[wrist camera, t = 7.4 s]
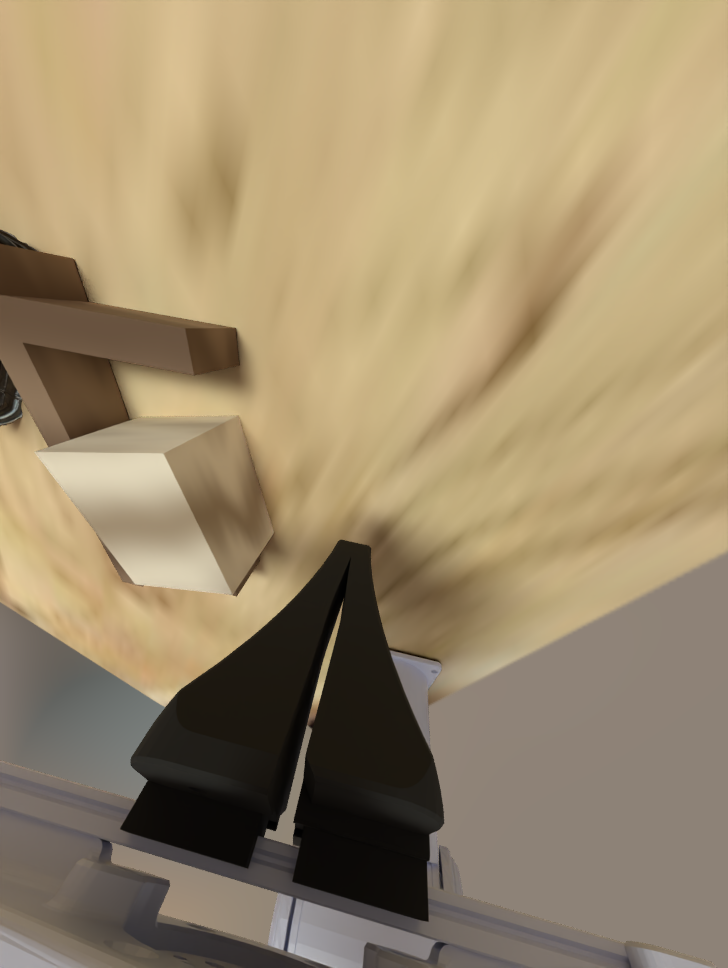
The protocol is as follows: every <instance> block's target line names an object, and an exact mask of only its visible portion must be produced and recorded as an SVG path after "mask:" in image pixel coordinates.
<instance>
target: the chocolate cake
mask: <svg viewBox="0 0 728 968" xmlns="http://www.w3.org/2000/svg"><path fill="white" fill-rule="evenodd" d="M0 244H3V245H8V246H13V247H18V248H23V249H28V250H33V251H37V250H35V249H34V248H32V247H30V246H28V245H27V243H22V242H20V241H19V240H17V238H16V237H15V236H14V235H12V234H10V233H8V232H5V231H3V230H0ZM38 252H39V251H38ZM21 403H22V398H21V396H20V394H19V393H18V391H17V389H16V387H15V385H14V384H13V382H12V380H11V378H10V376H9V374H8V373H7V371H6V369H5V367H4V365H3V364H2V362H1V360H0V426H1V425H7V424H11V423H13V421H14V420H18V418H22V416H23V415H22V410H21Z"/></svg>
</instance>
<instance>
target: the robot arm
mask: <svg viewBox="0 0 728 968" xmlns="http://www.w3.org/2000/svg"><path fill="white" fill-rule="evenodd" d="M343 599H344V601H343ZM342 602H343V607H342V614H341V621H340V625H339V629H338V633H337V637H336V641H335V645H334V649H333V652H332V656H331V660H330V664H329V668H328V672H327V676H326V680H325V683H324V687H323V691H322V695H321V699H320V703H319V706H318V710H317V714H316V718H315V721H314V725H313V729H312V733H311V737H310V740H309V744H308V748H307V752H306V757H305V768H304V779H303V784H302V788H301V792H300V796H299V800H298V804H297V809H296V813H295V817H294V823H295V830H294V834H293V846H291V845H288V844H284V843H281V842H277V841H274V840H271V839H267V838H264V835H265V832H266V828H267V829H270V830H273V831H276V829H277V825H278V821H279V818H280V815H281V814H282V813H283V812H284V811H285V810H286V808H287V803H288V799H289V795H290V791H291V787H292V783H293V779H294V774H295V771H296V766H297V762H298V758H299V754H300V750H301V746H302V742H303V738H304V734H305V730H306V726H307V722H308V718H309V714H310V710H311V706H312V702H313V698H314V694H315V690H316V686H317V682H318V678H319V674H320V670H321V666H322V662H323V659H324V656H325V652H326V649H327V646H328V643H329V640H330V638H331V635H332V632H333V629H334V626H335V623H336V620H337V617H338V614H339V611H340V608H341V605H342ZM441 670H442V666H441V664H440V663H439V662H436V661H432V660H428V659H424V658H420V657H416V656H412V655H407V654H403V653H399V652H395V651H391V650H389V647H388V644H387V640H386V637H385V634H384V630H383V627H382V623H381V619H380V615H379V611H378V606H377V602H376V597H375V591H374V585H373V579H372V570H371V548H370V546H367V545H363V544H358V543H354V542H349V541H345V540H339V541H338V543H337V544H336V546H335V548H334V549H333V551H332V553H331V554H330V555H329V557H328V558H327V560H326V561H325V562H324V564H323V565H322V566H321V568H320V569H319V570H318V571H317V573H316V574H315V575H314V576H313V578H312V579H311V580H310V581H309V582H308V583H307V584H306V585H305V587H304V588H303V589H302V590H301V591H300V592H299V593H298V594H297V595H296V596H295V598H294V599H293V600H292V601H291V602H290V603H289V604H288V605H287V606H286V607H285V608H284V609H282V610H281V611H280V612H279V613H278V614H277V615H276V616H275V617H274V618H273V619H272V620H271V621H269V622H268V623H267V624H266V625H265V626H264V627H263V628H262V629H261V630H259V631H258V632H257V633H256V634H255V635H253V636H252V637H251V638H250V639H249V640H247V641H246V642H245V643H243V644H242V645H241V646H240V647H238V648H237V649H236V650H235V651H233V652H232V653H231V654H229V655H228V656H227V657H226V658H224V659H223V660H222V661H220V662H219V663H218V664H216V665H215V666H213V667H212V668H210V669H209V670H208V671H206V672H205V673H203V674H202V675H201V676H199V677H198V678H196V679H195V680H193V681H192V682H191V683H189V684H188V685H186V686H185V687H183V688H182V689H181V690H180V691H179V692H178V693H177V694H176V695H175V696H174V698H173V699H172V700H171V701H170V702H169V704H168V705H167V706H166V707H165V709H164V710H163V711H162V713H161V714H160V715H159V717H158V718H157V719H156V721H155V722H154V723H153V725H152V726H151V728H150V729H149V731H148V732H147V734H146V736H145V737H144V739H143V740H142V742H141V743H140V745H139V746H138V748H137V750H136V751H135V753H134V754H133V756H132V757H131V766H132V767H133V768H134V769H135V770H136V771H137V772H138V773H140V774H141V775H142V776H143V777H145V778H146V779H147V780H148V781H147V783H146V785H145V786H144V788H143V790H142V792H141V793H140V795H139V797H138V799H137V800H134V799H130V798H127V797H124V796H120V795H116V794H113V793H110V792H107V791H103V790H100V789H96V788H93V787H89V786H86V785H83V784H79V783H75V782H72V781H69V780H65V779H62V778H59V777H55V776H52V775H48V774H44V773H42V772H38V771H35V770H31V769H28V768H24V767H20V766H17V765H14V764H11V763H7V762H3V761H0V968H717V967H716V966H715V965H714V964H713V963H712V962H710V961H706V960H703V959H700V958H697V957H693V956H690V955H686V954H683V953H679V952H676V951H673V950H669V949H666V948H662V947H658V946H654V945H650V944H646V943H639V942H633V941H626V943H623V942H620V941H616V940H613V939H609V938H606V937H603V936H599V935H596V934H592V933H589V932H586V931H582V930H578V929H575V928H572V927H568V926H565V925H562V924H558V923H555V922H551V921H548V920H544V919H541V918H537V917H534V916H531V915H527V914H524V913H521V912H517V911H514V910H510V909H507V908H503V907H500V906H496V905H493V904H490V903H486V902H483V901H479V900H476V899H473V898H469V897H466V896H463V892H462V885H461V878H460V873H459V869H458V866H457V864H456V863H455V861H454V859H453V858H452V857H451V855H450V851H449V849H448V848H447V847H444V846H439V864H438V845H437V831H438V830H439V829H440V828H441V827H442V826H443V824H444V811H443V804H442V797H441V790H440V785H439V780H438V775H437V771H436V767H435V763H434V759H433V755H432V753H431V751H430V731H429V711H428V690H429V688H430V687H431V685H432V684H433V682H434V681H435V679H436V678H437V676H438V675H439V673H440V672H441ZM110 842H113V843H116V844H119V845H123V846H126V847H129V848H132V849H136V850H139V851H142V852H146V853H149V854H152V855H155V856H159V857H162V858H165V859H169V860H172V861H175V862H179V863H182V864H185V865H188V866H192V867H195V868H198V869H202V870H205V871H208V872H212V873H215V874H218V875H221V876H225V877H228V878H231V879H235V880H238V881H241V882H245V883H248V884H251V885H254V886H258V887H261V888H264V889H267V890H271V891H274V892H277V893H278V896H277V900H276V905H275V909H274V914H273V918H272V924H271V930H270V935H269V941H268V945H266V944H262V943H259V942H256V941H253V940H250V939H246V938H243V937H239V936H236V935H233V934H229V933H226V932H223V931H218V930H215V929H212V928H208V927H204V926H201V925H197V924H194V923H190V922H186V921H182V920H179V919H176V918H172V917H168V916H164V915H161V914H158V912H159V910H160V908H161V905H162V903H163V901H164V898H165V896H166V894H167V892H168V889H169V887H170V883H169V880H166V879H164V878H161V877H158V876H155V875H152V874H149V873H146V872H143V871H140V870H136V869H133V868H129V867H125V866H120V865H116V864H113V863H112V862H111V855H112V850H113V849H112V844H111V843H110ZM438 865H439V866H438Z"/></svg>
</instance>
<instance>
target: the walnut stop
mask: <svg viewBox="0 0 728 968" xmlns="http://www.w3.org/2000/svg"><path fill="white" fill-rule="evenodd" d="M108 359H112V360H117V361H122V362H127V363H133V364H138V365H143V366H148V367H154V368H159V369H164V370H169V371H175V372H180V373H185V374H190V375H197V374H202V373H206V372H211V371H215V370H220V369H224V368H229V367H234V366H238V365H239V356H238V347H237V337H236V328H232V327H226V326H221V325H215V324H210V323H204V322H198V321H193V320H187V319H182V318H176V317H170V316H165V315H159V314H154V313H148V312H143V311H137V310H131V309H126V308H120V307H115V306H109V305H103V304H98V303H92V302H88V300H87V297H86V294H85V292H84V289H83V286H82V283H81V280H80V277H79V274H78V271H77V269H76V266H75V263H74V260H73V259H72V258H67V257H62V256H58V255H53V254H48V253H43V252H38V251H33V250H28V249H23V248H18V247H13V246H8V245H3V244H0V360H1V362H2V364H3V365H4V367H5V369H6V371H7V373H8V374H9V376H10V378H11V380H12V382H13V384H14V385H15V387H16V389H17V391H18V393H19V394H20V396H21V398H22V400H23V402H24V403H25V405H26V407H27V409H28V411H29V413H30V414H31V416H32V418H33V420H34V422H35V423H36V425H37V427H38V429H39V431H40V433H41V434H42V436H43V438H44V440H45V442H46V443H47V445H48V447H51V446H54V445H57V444H60V443H63V442H66V441H69V440H72V439H75V438H78V437H81V436H84V435H87V434H90V433H93V432H96V431H99V430H102V429H105V428H108V427H111V426H114V425H117V424H120V423H123V422H126V421H129V418H128V415H127V412H126V409H125V406H124V403H123V401H122V398H121V395H120V392H119V389H118V386H117V383H116V380H115V378H114V375H113V372H112V369H111V366H110V363H109V360H108ZM97 536H98V535H97ZM98 538H99V540H100V541H101V543H102V545H103V547H104V549H105V550H106V552H107V554H108V556H109V558H110V560H111V561H112V563H113V565H114V567H115V569H116V570H117V572H118V574H119V576H120V578H121V580H122V581H123V582H126V583H130V584H134V585H137V584H135V583H134V582H133V581H132V579H131V578H130V577H129V576H128V574H127V573H126V572H125V570H124V569H123V568H122V566H121V565H120V564H119V562H118V561H117V560H116V558H115V557H114V556H113V555H112V553H111V552H110V551H109V549H108V548H107V547H106V545H105V544H104V543H103V541H102V540H101V539H100V537H99V536H98ZM259 561H260V560H259V556H258V558H257V559H256V561H255V562H254V564H253V565H252V567H251V568H250V570H249V571H248V573H247V574H246V576H245V577H244V579H243V580H242V582H241V583H240V585H239V586H238V588H237V589H236V591H235V592H234V594H233V596H237V595H238V593H239V592H240V590H241V589H242V587H243V586H244V584H245V583H246V581H247V580H248V578H249V576H250V575H251V573H252V572H253V570H254V569H255V567H256V566H257V564H258V563H259ZM138 586H144V585H138Z"/></svg>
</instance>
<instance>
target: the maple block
mask: <svg viewBox="0 0 728 968" xmlns="http://www.w3.org/2000/svg"><path fill="white" fill-rule="evenodd" d="M35 454H36V455H37V456H38V458H39V459H40V460H41V461H42V463H43V464H44V465H45V467H46V468H47V469H48V471H49V472H50V473H51V475H52V476H53V477H54V478H55V480H56V481H57V482H58V484H59V485H60V486H61V488H62V489H63V490H64V492H65V493H66V494H67V496H68V497H69V498H70V499H71V501H72V502H73V503H74V505H75V506H76V507H77V509H78V510H79V511H80V513H81V514H82V515H83V517H84V518H85V519H86V520H87V522H88V523H89V524H90V526H91V527H92V528H93V530H94V531H95V532H96V534H97V535H98V536H99V537H100V539H101V540H102V541H103V543H104V544H105V545H106V547H107V548H108V549H109V551H110V552H111V553H112V555H113V556H114V557H115V558H116V560H117V561H118V562H119V564H120V565H121V566H122V568H123V569H124V570H125V572H126V573H127V574H128V576H129V577H130V578H131V579H132V581H133V582H134V583H135V584H137V585H146V586H155V587H164V588H173V589H183V590H192V591H201V592H210V593H219V594H229V595H233V594H234V592H235V591H236V589H237V588H238V586H239V585H240V583H241V582H242V580H243V579H244V577H245V576H246V574H247V573H248V571H249V570H250V568H251V567H252V565H253V564H254V562H255V561H256V559H257V558H258V556H259V555H260V553H261V552H262V550H263V549H264V547H265V546H266V544H267V543H268V541H269V540H270V538H271V537H272V535H273V534H274V530H273V527H272V524H271V520H270V517H269V514H268V511H267V507H266V504H265V501H264V497H263V494H262V491H261V488H260V484H259V481H258V478H257V475H256V471H255V468H254V465H253V461H252V458H251V455H250V452H249V448H248V445H247V442H246V439H245V435H244V432H243V429H242V425H241V422H240V419H239V416H238V415H229V416H160V417H139V418H135V419H132V420H129V421H126V422H123V423H120V424H117V425H114V426H111V427H108V428H105V429H102V430H99V431H96V432H93V433H90V434H87V435H84V436H81V437H78V438H75V439H72V440H69V441H66V442H63V443H60V444H57V445H54V446H51V447H48V448H44V449H41V450H38V451H35Z"/></svg>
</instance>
